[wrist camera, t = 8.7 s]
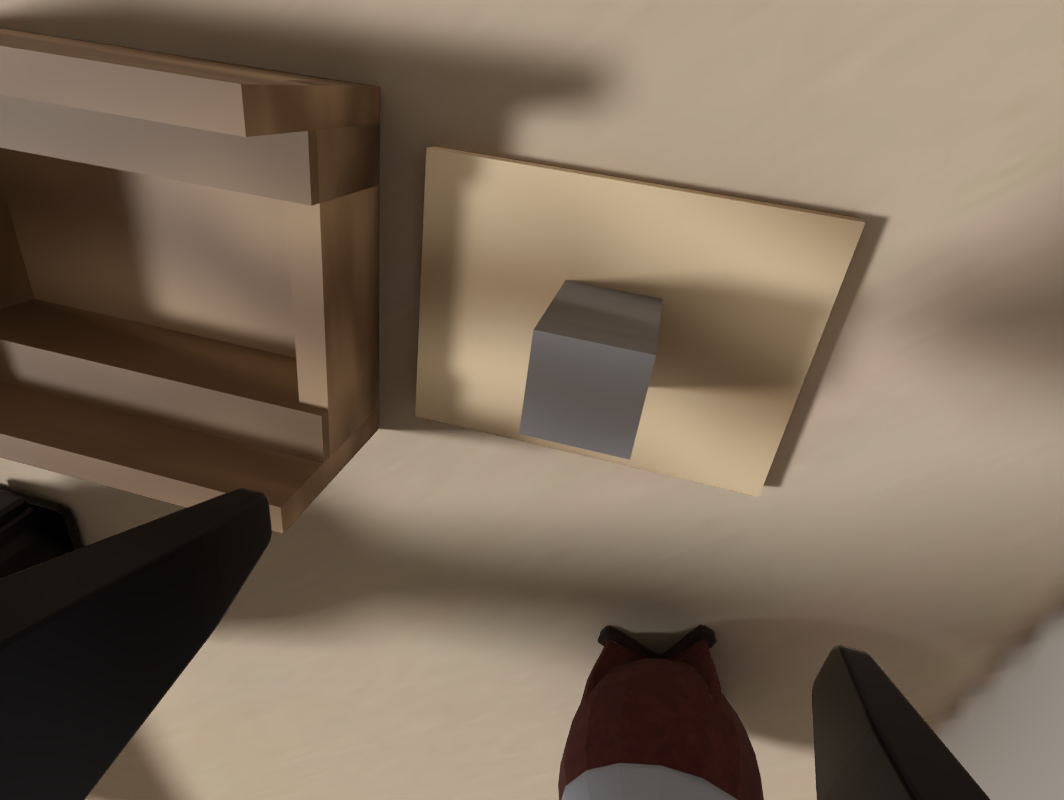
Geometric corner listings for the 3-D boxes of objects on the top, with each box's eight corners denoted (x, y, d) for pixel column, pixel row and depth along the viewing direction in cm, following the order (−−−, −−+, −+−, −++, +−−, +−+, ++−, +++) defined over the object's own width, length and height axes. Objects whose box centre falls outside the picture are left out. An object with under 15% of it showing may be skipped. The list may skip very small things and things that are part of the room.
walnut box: (378, 429, 24) (283, 533, 18) (49, 351, 26) (-127, 423, 20) (379, 86, 18) (240, 84, 12) (-44, 21, 20) (-328, -7, 14)
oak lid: (755, 477, 21) (776, 592, 16) (427, 401, 23) (356, 485, 18) (854, 214, 17) (924, 264, 12) (440, 144, 19) (352, 163, 14)
